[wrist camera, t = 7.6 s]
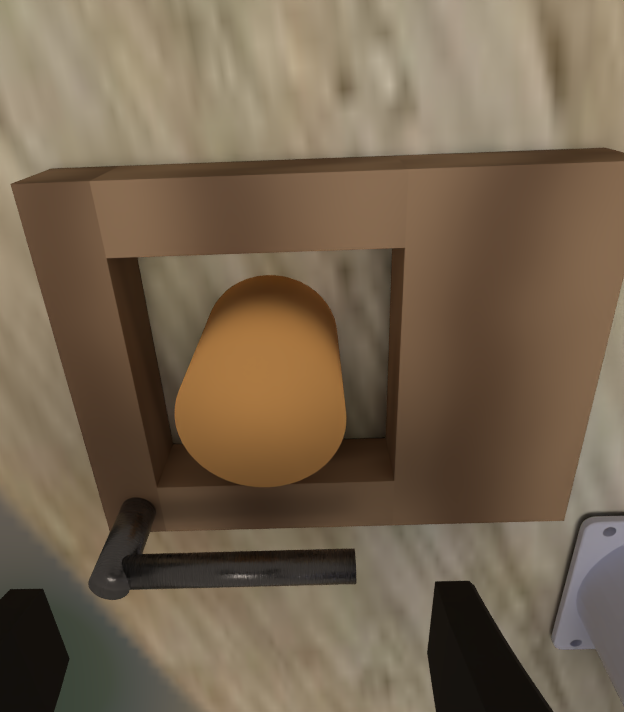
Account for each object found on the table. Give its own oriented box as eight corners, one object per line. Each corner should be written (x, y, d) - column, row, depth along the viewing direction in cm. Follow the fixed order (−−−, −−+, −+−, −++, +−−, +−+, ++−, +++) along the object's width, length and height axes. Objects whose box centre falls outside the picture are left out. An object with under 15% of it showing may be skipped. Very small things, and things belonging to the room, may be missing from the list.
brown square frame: (605, 147, 16) (651, 160, 13) (538, 475, 21) (564, 520, 19) (51, 168, 16) (10, 184, 14) (130, 486, 21) (110, 532, 19)
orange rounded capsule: (343, 279, 17) (354, 349, 13) (331, 396, 19) (338, 491, 15) (205, 270, 17) (170, 338, 13) (208, 389, 19) (178, 483, 15)
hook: (345, 447, 20) (356, 565, 16) (345, 472, 21) (356, 593, 16) (137, 453, 21) (84, 572, 16) (143, 478, 21) (93, 600, 16)
